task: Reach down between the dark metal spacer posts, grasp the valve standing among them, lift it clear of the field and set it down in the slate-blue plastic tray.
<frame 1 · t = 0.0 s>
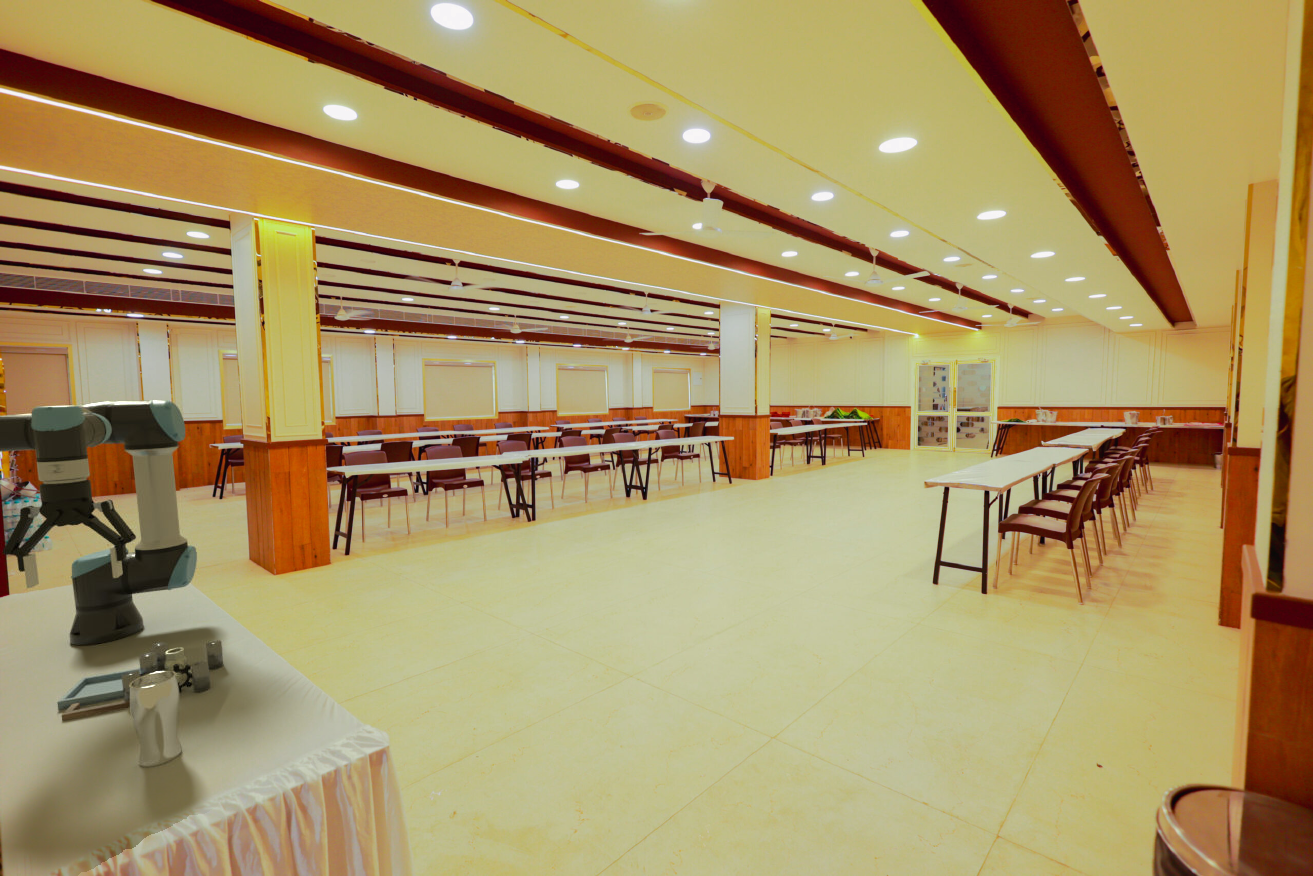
hand: (76, 581, 125), 28 cm above the table, fingers open, 13 cm apart
beer glass: (161, 757, 110), on the table
hook tool: (107, 710, 126), on the table
valve: (177, 684, 138), on the table
spacers: (177, 683, 137), on the table
tray: (105, 691, 134), on the table
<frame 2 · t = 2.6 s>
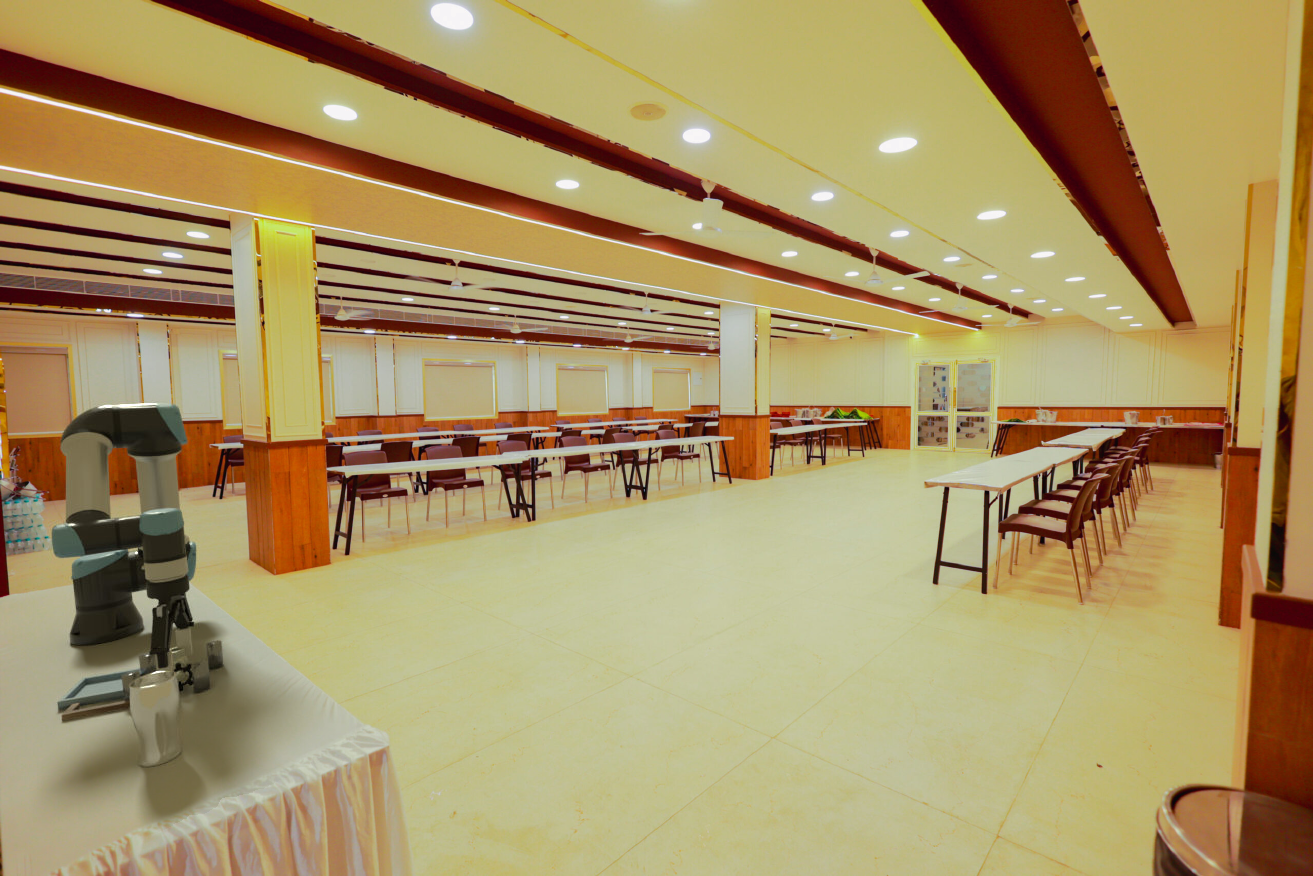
hand: (176, 667, 137), 4 cm above the table, fingers open, 13 cm apart
valve: (179, 683, 138), on the table, touching gripper
everything else where it was.
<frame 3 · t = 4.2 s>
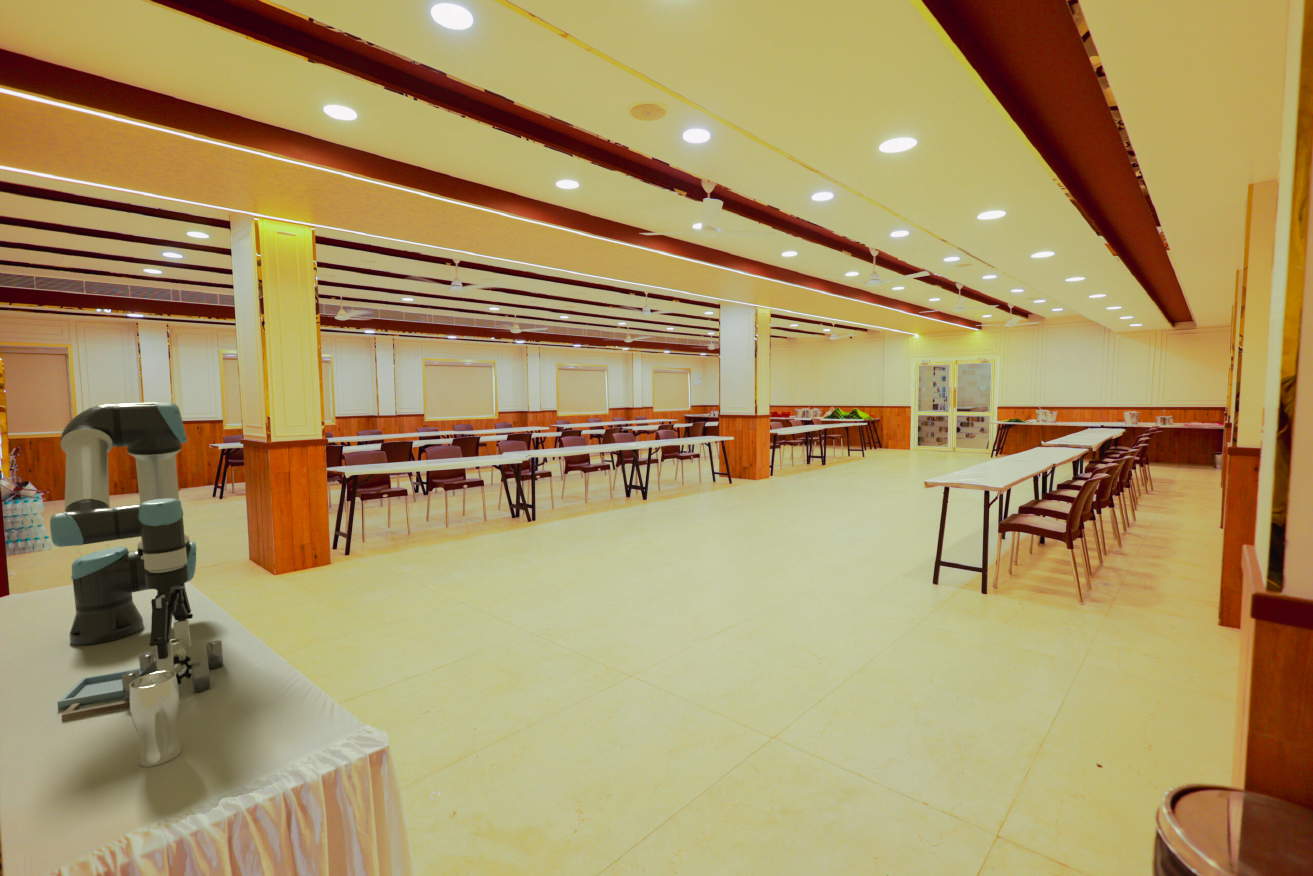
hand: (175, 658, 137), 6 cm above the table, fingers closed on valve, 12 cm apart
valve: (176, 675, 138), point 1 cm above the table, touching gripper
everything else where it was.
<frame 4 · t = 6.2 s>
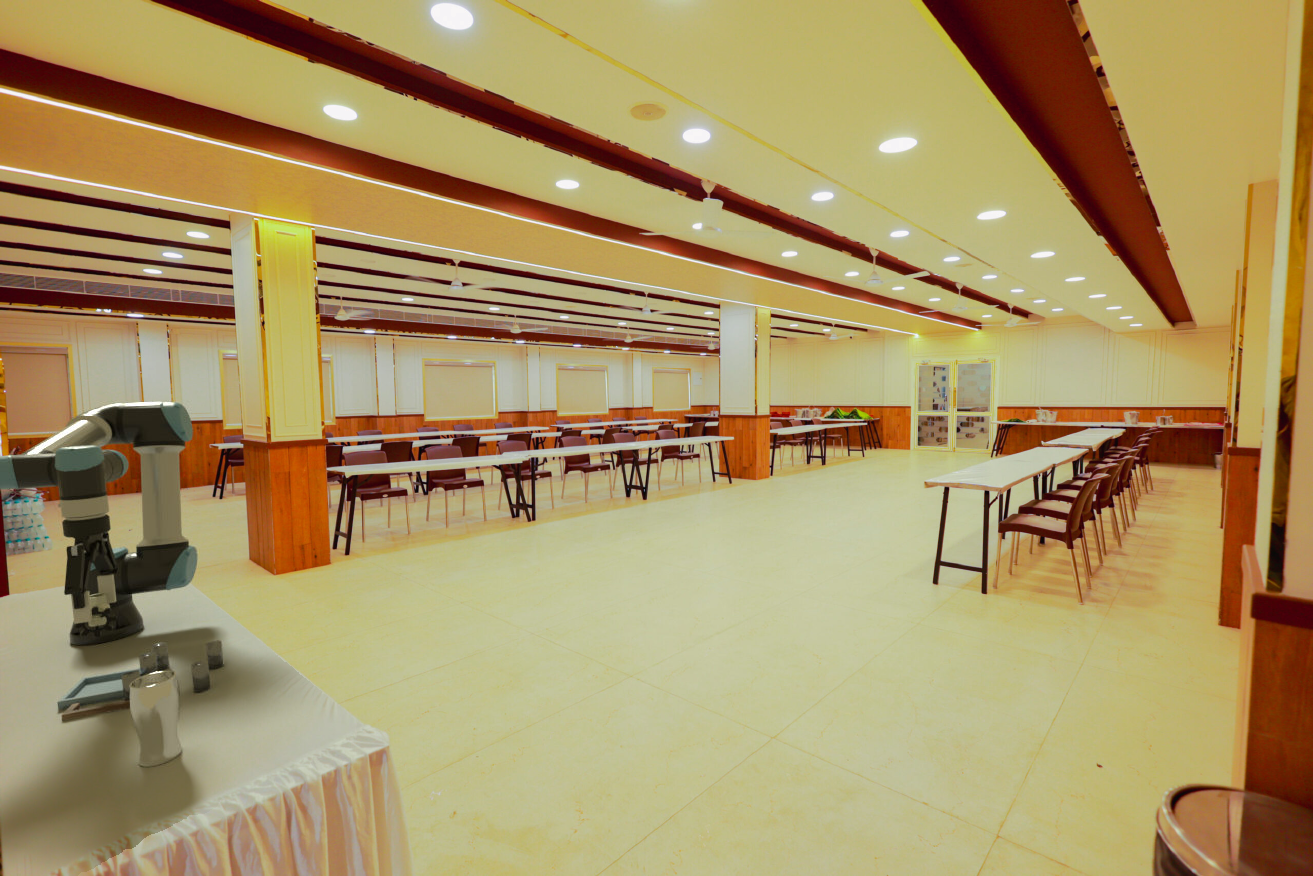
hand: (96, 612, 133), 18 cm above the table, fingers closed on valve, 12 cm apart
valve: (98, 629, 134), point 14 cm above the table, touching gripper
everything else where it was.
when the fingers open (6 cm above the table, at t = 8.2 s): valve stays where it is, resting on tray.
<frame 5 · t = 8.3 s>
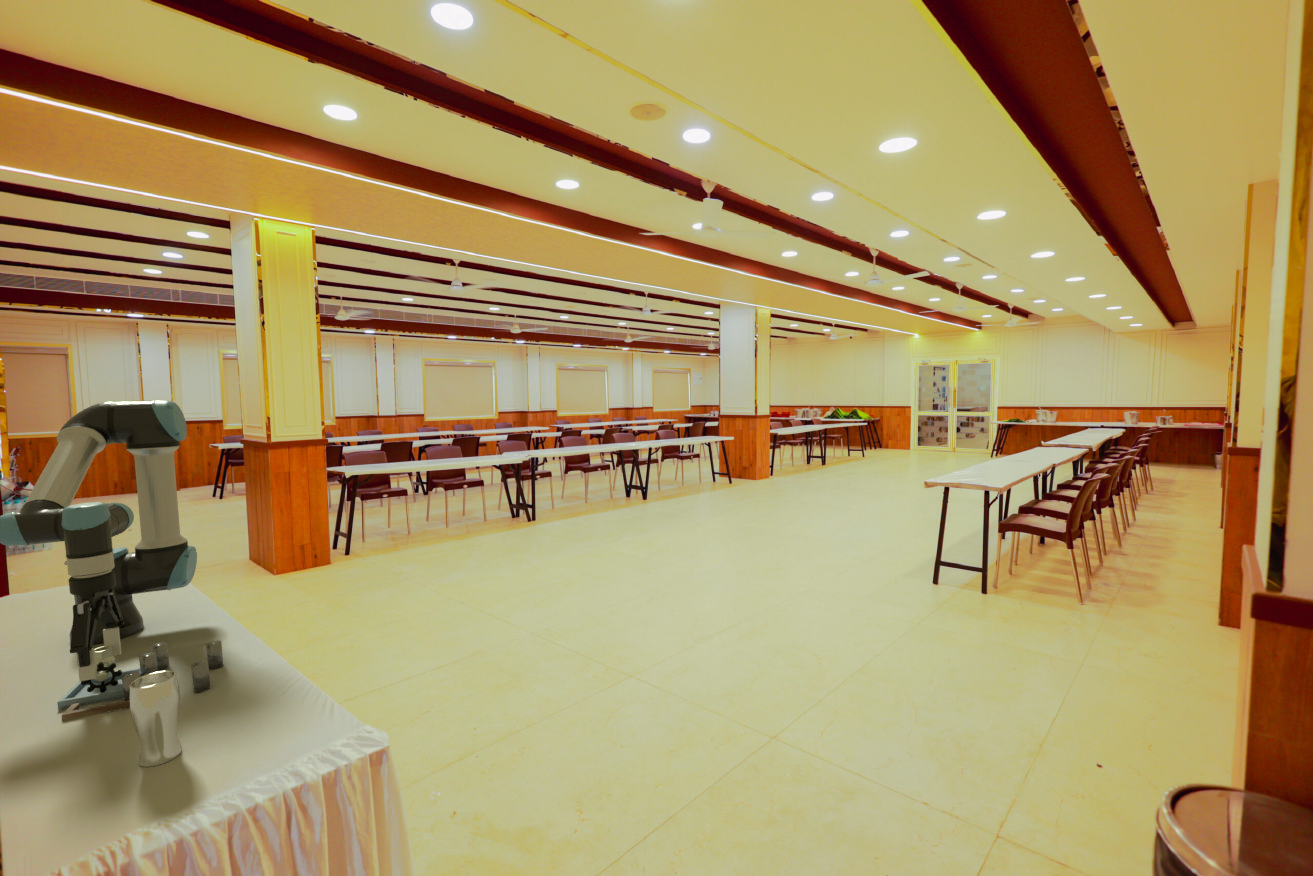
hand: (101, 667, 134), 6 cm above the table, fingers open, 12 cm apart
valve: (104, 683, 135), point 2 cm above the table, touching gripper, tray
everything else where it was.
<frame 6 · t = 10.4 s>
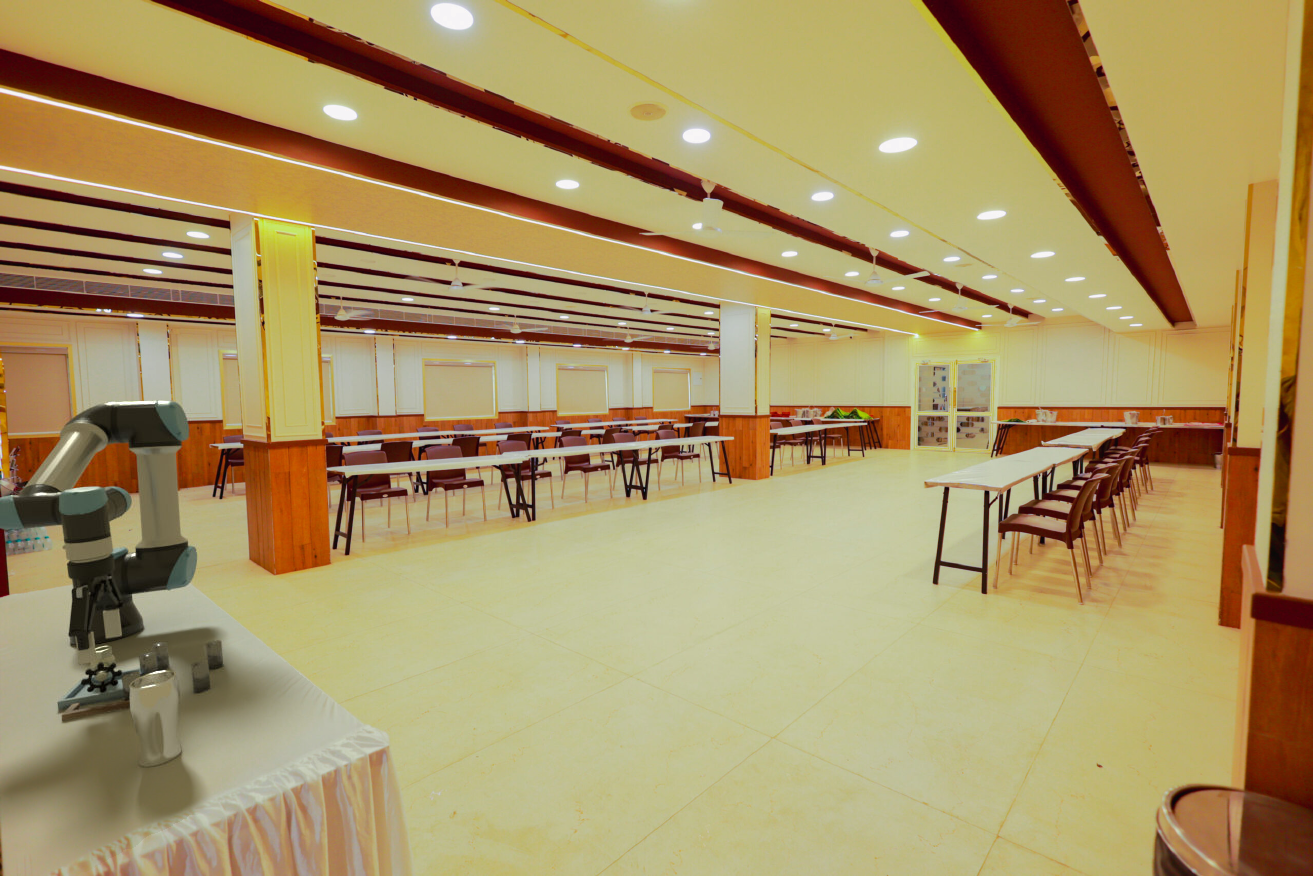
hand: (101, 649, 134), 10 cm above the table, fingers open, 13 cm apart
valve: (104, 683, 135), point 2 cm above the table, touching tray
everything else where it was.
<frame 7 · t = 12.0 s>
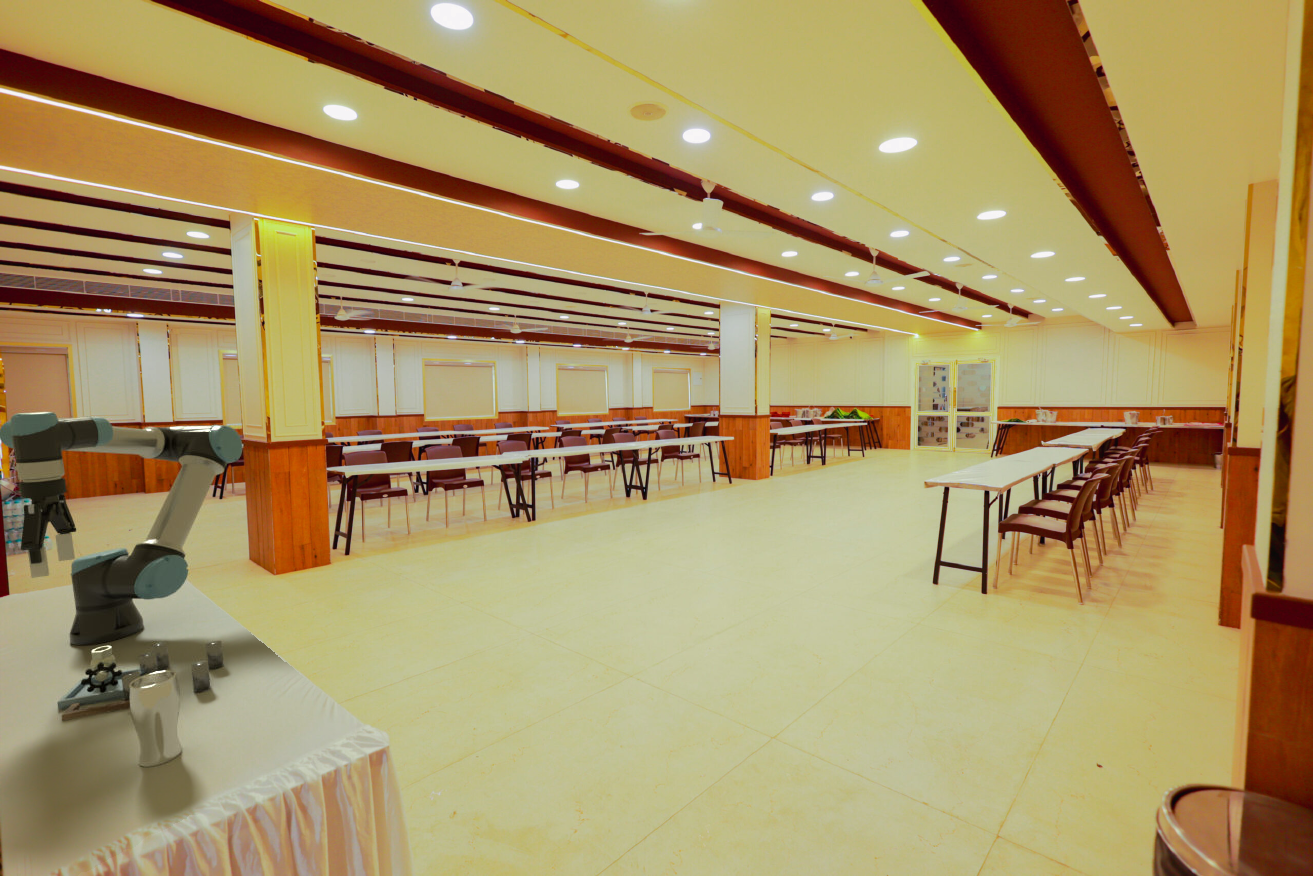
hand: (54, 568, 140), 26 cm above the table, fingers open, 13 cm apart
nothing on the table moved.
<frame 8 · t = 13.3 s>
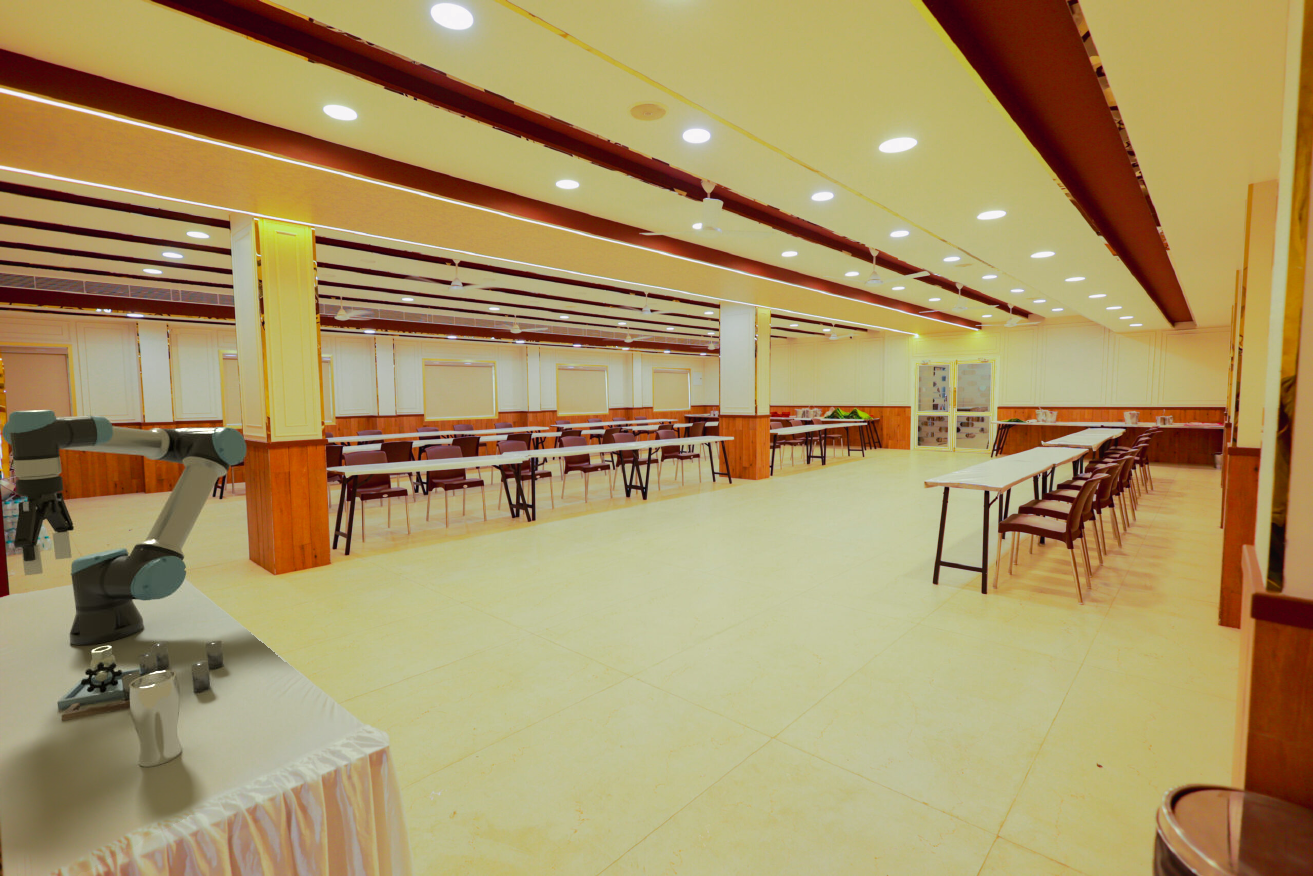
hand: (49, 566, 140), 27 cm above the table, fingers open, 13 cm apart
nothing on the table moved.
at the end: valve inside the target area on the tray (0.6 cm from its centre), point 1.6 cm above the tray's base; the gripper is holding nothing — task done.
